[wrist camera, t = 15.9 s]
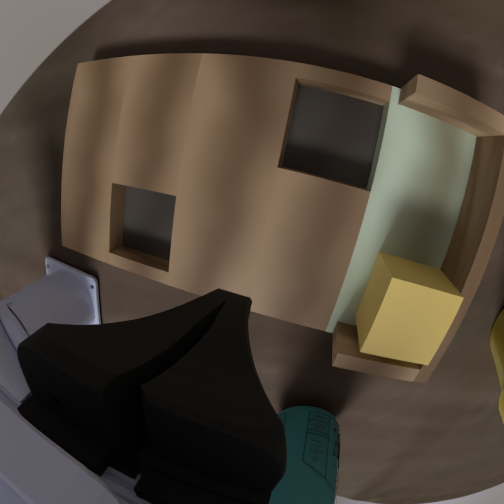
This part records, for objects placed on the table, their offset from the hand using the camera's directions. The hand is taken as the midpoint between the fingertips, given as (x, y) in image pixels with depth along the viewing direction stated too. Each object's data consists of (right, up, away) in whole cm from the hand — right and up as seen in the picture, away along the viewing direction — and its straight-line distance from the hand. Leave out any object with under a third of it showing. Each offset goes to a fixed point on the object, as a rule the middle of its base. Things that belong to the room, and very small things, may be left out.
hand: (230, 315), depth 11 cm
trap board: (0, +7, +8) cm, 11 cm away
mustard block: (+10, 0, +6) cm, 12 cm away
